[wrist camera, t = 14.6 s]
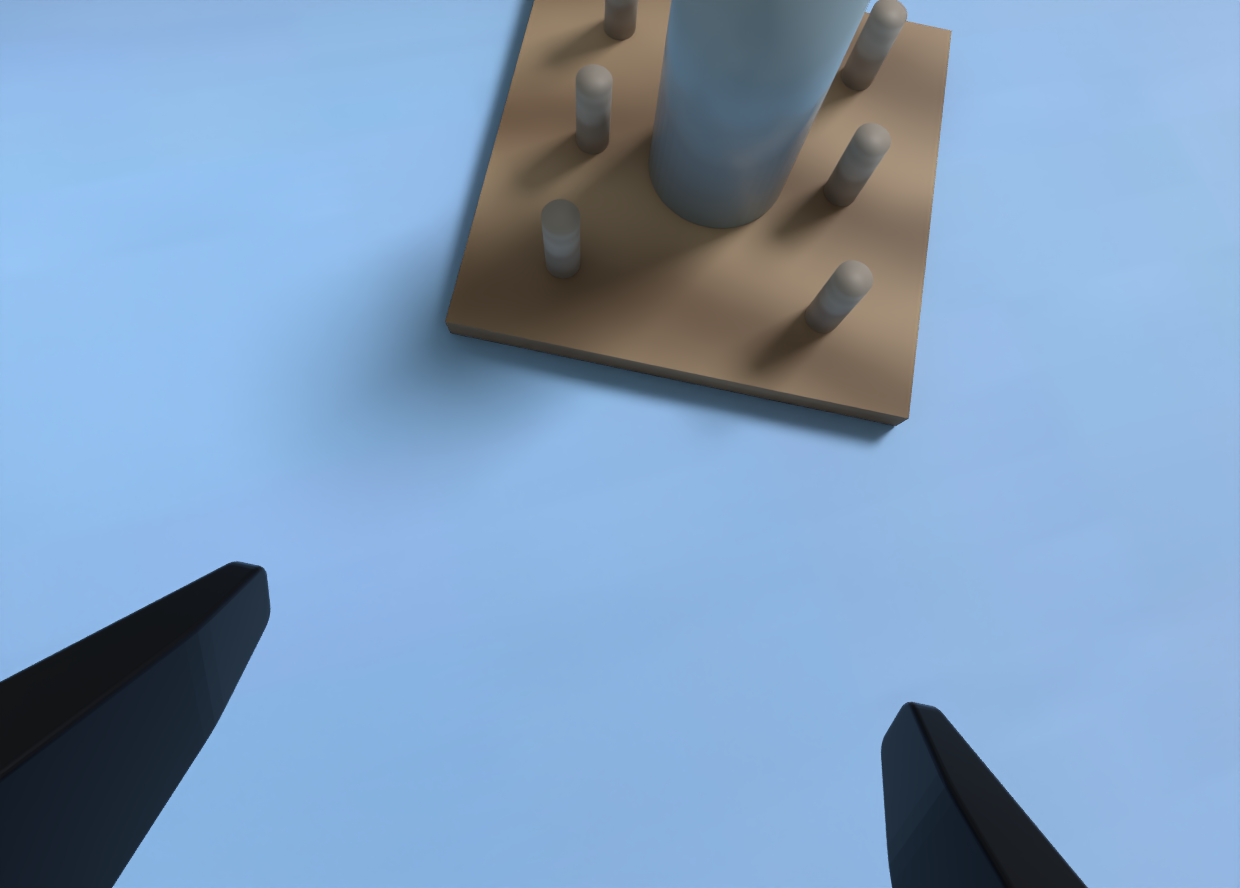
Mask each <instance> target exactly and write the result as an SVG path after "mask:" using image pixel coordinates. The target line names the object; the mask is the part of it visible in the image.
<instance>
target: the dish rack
mask: <svg viewBox="0 0 1240 888" xmlns="http://www.w3.org/2000/svg"><path fill="white" fill-rule="evenodd" d="M670 6H671V0H534V3H533V7H532V10H531V14H530V18H529V21H528V25H527V28H526V32H525V36H524V39H523V43H522V46H521V50H520V54H519V57H518V61H517V64H516V68H515V72H514V75H513V79H512V82H511V86H510V90H509V93H508V97H507V100H506V104H505V108H504V111H503V115H502V118H501V122H500V126H499V129H498V133H497V136H496V140H495V144H494V147H493V151H492V154H491V158H490V162H489V165H488V169H487V172H486V176H485V180H484V183H483V187H482V191H481V194H480V198H479V201H478V205H477V209H476V212H475V216H474V219H473V223H472V227H471V230H470V234H469V237H468V241H467V245H466V248H465V252H464V255H463V259H462V263H461V266H460V270H459V273H458V277H457V281H456V284H455V288H454V291H453V295H452V299H451V302H450V306H449V309H448V313H447V317H446V320H445V322H446V324H447V327H448V329H449V331H450V333H454V334H459V335H464V336H469V337H473V338H478V339H483V340H488V341H492V342H497V343H502V344H507V345H512V346H516V347H521V348H526V349H531V350H536V351H540V352H545V353H550V354H555V355H559V356H564V357H569V358H574V359H579V360H583V361H588V362H593V363H598V364H603V365H607V366H612V367H617V368H622V369H626V370H631V371H636V372H641V373H646V374H650V375H655V376H660V377H665V378H670V379H674V380H679V381H684V382H689V383H694V384H698V385H703V386H708V387H713V388H717V389H722V390H727V391H732V392H737V393H741V394H746V395H751V396H756V397H761V398H765V399H770V400H775V401H780V402H784V403H789V404H794V405H799V406H804V407H808V408H813V409H818V410H823V411H828V412H832V413H837V414H842V415H847V416H851V417H856V418H861V419H866V420H871V421H875V422H880V423H885V424H890V425H895V426H897V425H898V424H900V423H902V422H903V421H905V420H907V419H909V411H910V402H911V393H912V383H913V374H914V365H915V356H916V347H917V338H918V329H919V320H920V311H921V302H922V293H923V284H924V275H925V266H926V257H927V248H928V239H929V230H930V221H931V212H932V203H933V194H934V185H935V176H936V166H937V157H938V148H939V139H940V130H941V121H942V112H943V103H944V94H945V85H946V76H947V67H948V58H949V49H950V40H951V31H950V30H946V29H941V28H936V27H931V26H927V25H922V24H917V23H913V22H908V21H906V19H907V11H906V9H905V7H904V6H903V5H902V4H901V3H900V2H899V1H897V0H879V1H877V2H876V3H875V5H874V6H873V8H872V11H871V13H864V15H863V17H862V20H861V22H860V24H859V26H858V28H857V30H856V32H855V35H854V37H853V39H852V41H851V43H850V45H849V47H848V50H847V52H846V54H845V56H844V58H843V60H842V62H841V65H840V67H839V69H838V71H837V73H836V75H835V78H834V80H833V82H832V84H831V86H830V88H829V90H828V93H827V95H826V97H825V99H824V101H823V103H822V105H821V108H820V110H819V112H818V114H817V116H816V118H815V120H814V123H813V125H812V127H811V129H810V131H809V133H808V135H807V138H806V140H805V142H804V144H803V146H802V148H801V150H800V153H799V155H798V157H797V159H796V161H795V163H794V166H793V168H792V170H791V172H790V174H789V176H788V178H787V181H786V183H785V185H784V187H783V189H782V191H781V193H780V195H779V197H778V199H777V201H776V202H775V203H774V205H773V206H772V207H771V208H770V209H769V210H768V211H767V212H766V213H765V214H764V215H762V216H761V217H760V218H758V219H756V220H754V221H752V222H750V223H748V224H745V225H742V226H738V227H732V228H710V227H705V226H701V225H697V224H694V223H692V222H689V221H687V220H685V219H683V218H682V217H680V216H679V215H677V214H676V213H674V212H673V211H672V210H671V209H669V208H668V207H667V206H666V205H665V203H664V202H663V201H662V200H661V199H660V197H659V196H658V194H657V193H656V191H655V189H654V187H653V184H652V182H651V179H650V174H649V165H648V161H649V152H650V145H651V138H652V131H653V124H654V117H655V111H656V104H657V97H658V90H659V83H660V76H661V69H662V62H663V55H664V48H665V41H666V34H667V27H668V20H669V13H670Z"/></svg>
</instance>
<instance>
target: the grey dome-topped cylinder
mask: <svg viewBox="0 0 1240 888" xmlns="http://www.w3.org/2000/svg"><path fill="white" fill-rule="evenodd" d="M869 2H870V0H671V6H670V13H669V20H668V27H667V34H666V41H665V48H664V55H663V62H662V69H661V76H660V83H659V90H658V97H657V104H656V111H655V117H654V124H653V131H652V138H651V145H650V152H649V161H648V165H649V174H650V179H651V182H652V184H653V187H654V189H655V191H656V193H657V194H658V196H659V197H660V199H661V200H662V201H663V202H664V203H665V205H666V206H667V207H668V208H669V209H671V210H672V211H673V212H674V213H676V214H677V215H679V216H680V217H682V218H683V219H685V220H687V221H689V222H692V223H694V224H697V225H701V226H705V227H710V228H732V227H738V226H742V225H745V224H748V223H750V222H752V221H754V220H756V219H758V218H760V217H761V216H762V215H764V214H765V213H766V212H767V211H768V210H769V209H770V208H771V207H772V206H773V205H774V203H775V202H776V201H777V199H778V197H779V195H780V193H781V191H782V189H783V187H784V185H785V183H786V181H787V178H788V176H789V174H790V172H791V170H792V168H793V166H794V163H795V161H796V159H797V157H798V155H799V153H800V150H801V148H802V146H803V144H804V142H805V140H806V138H807V135H808V133H809V131H810V129H811V127H812V125H813V123H814V120H815V118H816V116H817V114H818V112H819V110H820V108H821V105H822V103H823V101H824V99H825V97H826V95H827V93H828V90H829V88H830V86H831V84H832V82H833V80H834V78H835V75H836V73H837V71H838V69H839V67H840V65H841V62H842V60H843V58H844V56H845V54H846V52H847V50H848V47H849V45H850V43H851V41H852V39H853V37H854V35H855V32H856V30H857V28H858V26H859V24H860V22H861V20H862V17H863V15H864V13H865V11H866V9H867V7H868V5H869Z"/></svg>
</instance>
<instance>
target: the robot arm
mask: <svg viewBox="0 0 1240 888" xmlns="http://www.w3.org/2000/svg"><path fill="white" fill-rule="evenodd" d="M269 616H270V599H269V590H268V581H267V574H266V571H265V569H264V568H263V567H261V566H258V565H253V564H248V563H244V562H238V561H236V562H231V563H228V564H226V565H224V566H222V567H220V568H218V569H216V570H215V571H213V572H211V573H209V574H207V575H205V576H203V577H201V578H199V579H197V580H195V581H193V582H191V583H190V584H188V585H186V586H184V587H182V588H180V589H178V590H176V591H174V592H172V593H170V594H168V595H166V596H164V597H163V598H161V599H159V600H157V601H155V602H153V603H151V604H149V605H147V606H145V607H143V608H141V609H139V610H138V611H136V612H134V613H132V614H130V615H128V616H126V617H124V618H122V619H120V620H118V621H116V622H114V623H112V624H111V625H109V626H107V627H105V628H103V629H101V630H99V631H97V632H95V633H93V634H91V635H89V636H87V637H86V638H84V639H82V640H80V641H78V642H76V643H74V644H72V645H70V646H68V647H66V648H64V649H62V650H61V651H59V652H57V653H55V654H53V655H51V656H49V657H47V658H45V659H43V660H41V661H39V662H37V663H35V664H34V665H32V666H30V667H28V668H26V669H24V670H22V671H20V672H18V673H16V674H14V675H12V676H10V677H9V678H7V679H5V680H3V681H1V682H0V888H112V887H113V886H114V884H115V882H116V881H117V879H118V878H119V876H120V875H121V873H122V872H123V870H124V868H125V867H126V865H127V864H128V862H129V861H130V859H131V858H132V856H133V854H134V853H135V851H136V850H137V848H138V847H139V845H140V844H141V842H142V841H143V839H144V837H145V836H146V834H147V833H148V831H149V830H150V828H151V827H152V825H153V823H154V822H155V820H156V819H157V817H158V816H159V814H160V813H161V811H162V809H163V808H164V806H165V805H166V803H167V802H168V800H169V799H170V797H171V795H172V794H173V792H174V791H175V789H176V788H177V786H178V785H179V783H180V781H181V780H182V778H183V777H184V775H185V774H186V772H187V771H188V769H189V767H190V766H191V764H192V763H193V761H194V760H195V758H196V757H197V755H198V753H199V752H200V750H201V749H202V747H203V746H204V744H205V743H206V741H207V739H208V738H209V736H210V734H211V733H212V731H213V729H214V728H215V726H216V724H217V723H218V721H219V719H220V717H221V715H222V713H223V711H224V709H225V707H226V705H227V703H228V701H229V699H230V697H231V696H232V694H233V692H234V690H235V688H236V686H237V684H238V682H239V680H240V678H241V676H242V674H243V672H244V670H245V668H246V666H247V664H248V662H249V660H250V658H251V656H252V654H253V652H254V650H255V648H256V646H257V644H258V642H259V640H260V638H261V636H262V634H263V632H264V630H265V628H266V626H267V623H268V620H269ZM881 762H882V777H883V792H884V808H885V823H886V838H887V851H888V862H889V870H890V877H891V884H892V888H1088V887H1087V886H1086V885H1085V884H1084V883H1083V881H1082V880H1081V879H1080V878H1079V877H1078V875H1077V874H1076V873H1075V872H1074V871H1073V869H1072V868H1071V867H1070V866H1069V865H1068V863H1067V862H1066V861H1065V860H1064V859H1063V857H1062V856H1061V855H1060V854H1059V853H1058V851H1057V850H1056V849H1055V848H1054V847H1053V845H1052V844H1051V843H1050V842H1049V841H1048V839H1047V838H1046V837H1045V836H1044V835H1043V833H1042V832H1041V831H1040V830H1039V829H1038V827H1037V826H1036V825H1035V824H1034V823H1033V821H1032V820H1031V819H1030V818H1029V816H1028V815H1027V814H1026V813H1025V812H1024V810H1023V809H1022V808H1021V807H1020V806H1019V804H1018V803H1017V802H1016V801H1015V800H1014V798H1013V797H1012V796H1011V795H1010V794H1009V792H1008V791H1007V790H1006V789H1005V788H1004V786H1003V785H1002V784H1001V783H1000V782H999V780H998V779H997V778H996V777H995V776H994V774H993V773H992V772H991V771H990V770H989V768H988V767H987V766H986V765H985V764H984V762H983V761H982V760H981V759H980V758H979V756H978V755H977V754H976V753H975V752H974V750H973V749H972V748H971V747H970V746H969V744H968V743H967V742H966V741H965V740H964V738H963V737H962V736H961V735H960V734H959V732H958V731H957V730H956V729H955V728H954V726H953V725H952V724H951V723H950V721H949V720H948V719H947V718H946V717H945V715H944V714H943V713H942V712H941V711H940V710H939V709H937V708H936V707H933V706H929V705H925V704H920V703H915V702H907V703H905V704H904V705H903V706H902V707H901V709H900V711H899V712H898V714H897V716H896V717H895V719H894V721H893V722H892V724H891V726H890V727H889V729H888V731H887V732H886V734H885V736H884V738H883V741H882V746H881Z"/></svg>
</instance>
